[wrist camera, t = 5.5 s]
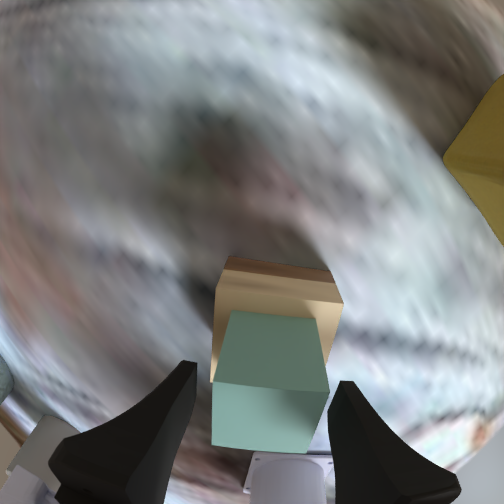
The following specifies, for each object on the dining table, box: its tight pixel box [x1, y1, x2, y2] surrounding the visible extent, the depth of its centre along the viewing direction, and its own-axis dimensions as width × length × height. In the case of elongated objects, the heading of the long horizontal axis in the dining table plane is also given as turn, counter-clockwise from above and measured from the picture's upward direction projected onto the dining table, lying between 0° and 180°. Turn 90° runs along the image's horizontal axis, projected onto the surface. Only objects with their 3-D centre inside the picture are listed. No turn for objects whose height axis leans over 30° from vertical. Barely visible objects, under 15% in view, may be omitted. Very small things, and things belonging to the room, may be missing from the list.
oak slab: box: [210, 269, 344, 382], centre depth 16 cm, size 6×6×2 cm
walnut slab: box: [224, 256, 336, 284], centre depth 18 cm, size 6×6×2 cm
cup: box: [6, 415, 80, 492], centre depth 22 cm, size 8×8×10 cm
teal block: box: [212, 310, 330, 453], centre depth 13 cm, size 4×4×5 cm
